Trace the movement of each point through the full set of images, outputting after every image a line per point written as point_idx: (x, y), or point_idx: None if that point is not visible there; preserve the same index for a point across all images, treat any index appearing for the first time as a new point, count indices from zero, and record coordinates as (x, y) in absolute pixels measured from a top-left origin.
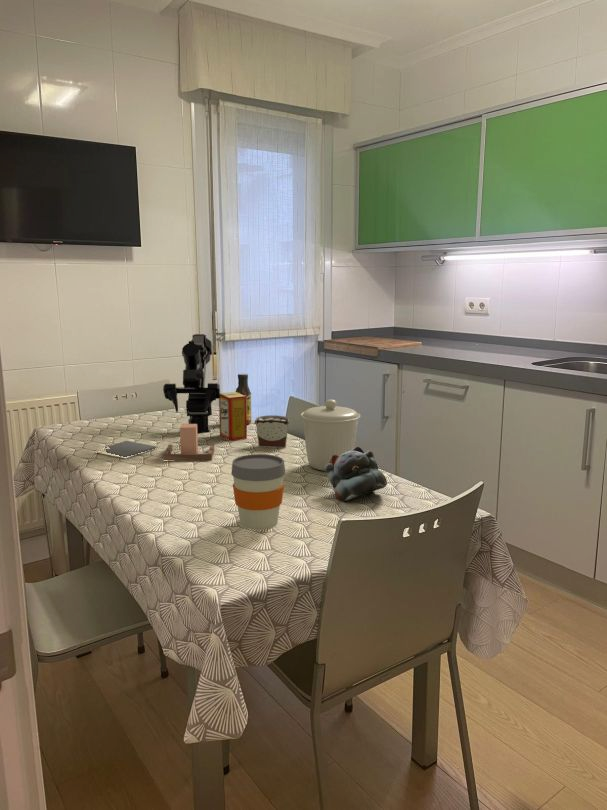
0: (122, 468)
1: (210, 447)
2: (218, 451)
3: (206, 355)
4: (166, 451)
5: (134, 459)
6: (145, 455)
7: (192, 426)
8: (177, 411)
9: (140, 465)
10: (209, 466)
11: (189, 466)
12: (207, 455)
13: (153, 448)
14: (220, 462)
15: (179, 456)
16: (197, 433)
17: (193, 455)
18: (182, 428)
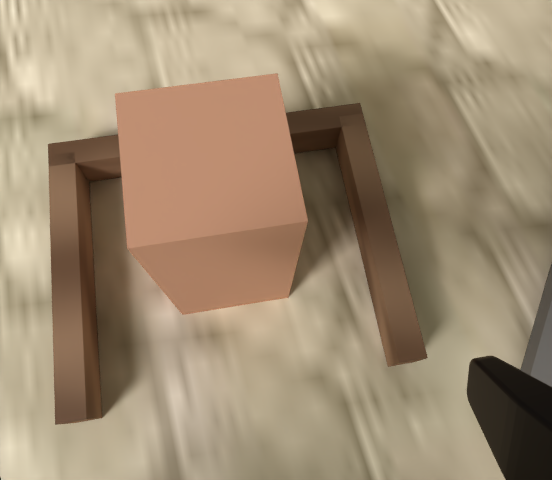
0: (506, 2)
1: (75, 312)
2: (38, 381)
3: None
4: (369, 179)
5: (532, 143)
6: (512, 227)
7: (157, 127)
8: (472, 389)
9: (442, 50)
10: (64, 64)
11: (175, 55)
12: (77, 143)
13: (531, 356)
14: (6, 135)
15: None
16: (152, 276)
17: None
18: (251, 82)
